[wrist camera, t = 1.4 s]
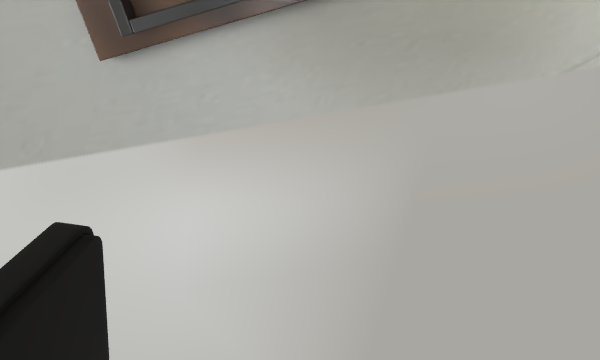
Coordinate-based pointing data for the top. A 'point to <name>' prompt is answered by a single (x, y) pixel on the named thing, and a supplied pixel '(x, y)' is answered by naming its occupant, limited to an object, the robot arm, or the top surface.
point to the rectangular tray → (160, 20)
